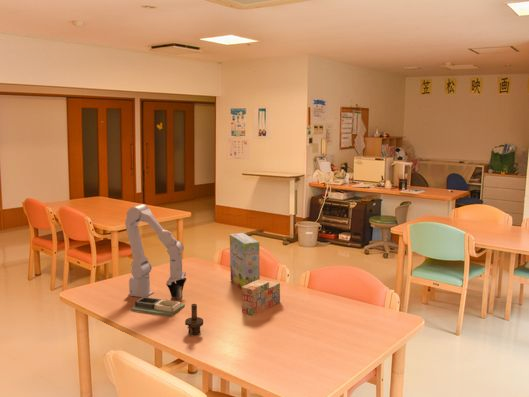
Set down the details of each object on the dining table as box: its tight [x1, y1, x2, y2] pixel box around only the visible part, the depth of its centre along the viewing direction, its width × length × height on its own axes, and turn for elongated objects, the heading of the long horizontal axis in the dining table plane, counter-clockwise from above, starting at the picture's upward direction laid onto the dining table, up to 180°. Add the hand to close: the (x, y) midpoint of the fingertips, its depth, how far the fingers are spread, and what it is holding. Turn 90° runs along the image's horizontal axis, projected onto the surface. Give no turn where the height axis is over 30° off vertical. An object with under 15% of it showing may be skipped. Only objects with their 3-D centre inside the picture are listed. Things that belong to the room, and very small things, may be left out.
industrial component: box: [184, 303, 204, 337], centre depth 202 cm, size 9×7×12 cm
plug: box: [170, 286, 183, 300], centre depth 241 cm, size 4×3×6 cm
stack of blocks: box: [241, 279, 281, 316], centre depth 229 cm, size 21×6×12 cm, turn 144°
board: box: [130, 296, 186, 317], centre depth 228 cm, size 20×13×3 cm, turn 70°
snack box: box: [228, 232, 261, 290], centre depth 257 cm, size 22×9×26 cm, turn 25°
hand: (176, 294), depth 241 cm, fingers open, 5 cm apart
